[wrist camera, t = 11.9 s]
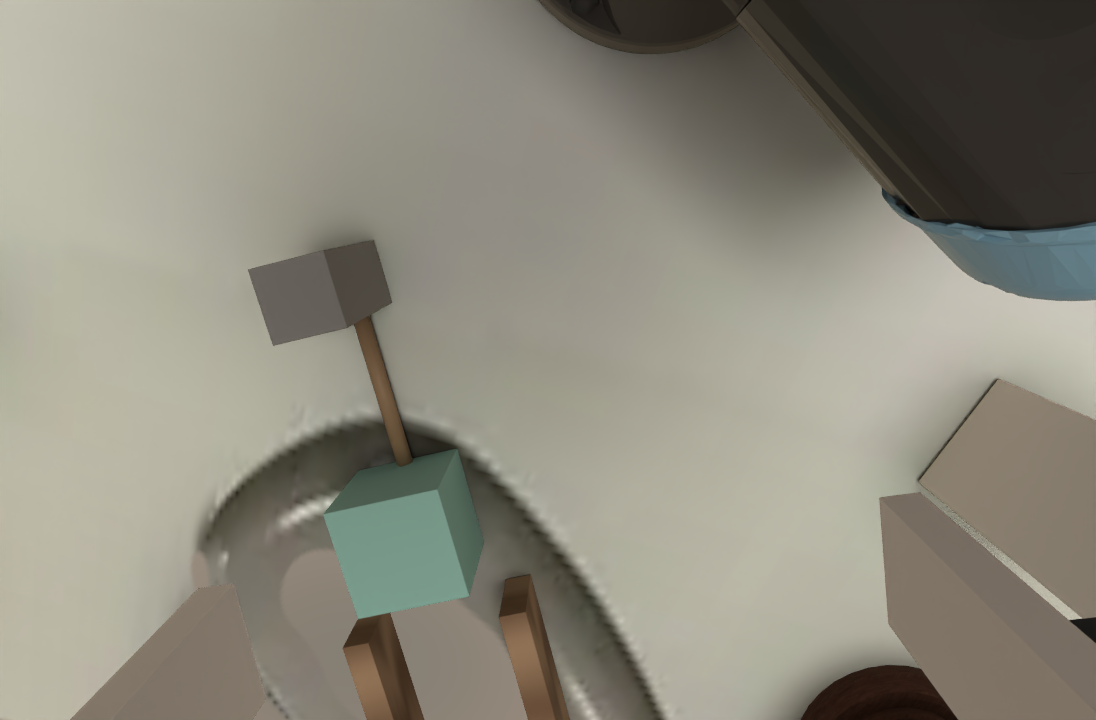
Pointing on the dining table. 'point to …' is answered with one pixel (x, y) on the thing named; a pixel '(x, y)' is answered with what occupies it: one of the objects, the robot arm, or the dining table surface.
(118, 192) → the dining table surface
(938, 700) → the speckled black round top
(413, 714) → the wooden u-shaped block
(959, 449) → the milk carton
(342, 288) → the cube dumbbell
